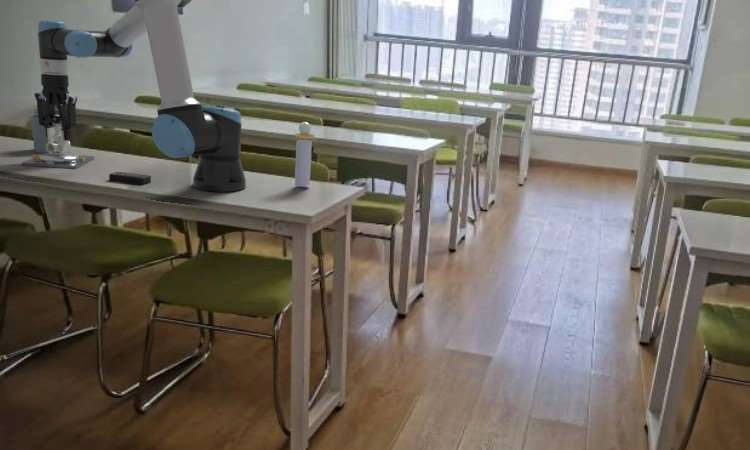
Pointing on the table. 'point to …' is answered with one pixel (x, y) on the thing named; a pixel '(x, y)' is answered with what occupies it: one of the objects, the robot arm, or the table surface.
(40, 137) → the blue-grey cup
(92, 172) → the table surface
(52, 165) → the lock plate
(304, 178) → the perfume bottle
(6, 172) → the table surface
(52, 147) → the valve
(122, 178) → the multiport hub
